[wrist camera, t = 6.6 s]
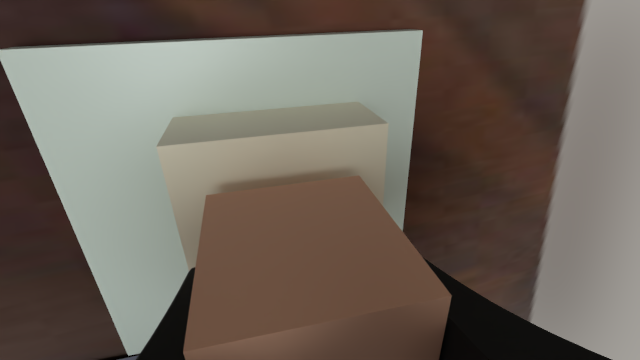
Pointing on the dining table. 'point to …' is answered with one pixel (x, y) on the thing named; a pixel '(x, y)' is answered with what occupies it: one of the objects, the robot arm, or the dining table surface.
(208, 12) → the dining table surface
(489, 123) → the dining table surface
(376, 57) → the base plate
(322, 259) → the top brick
